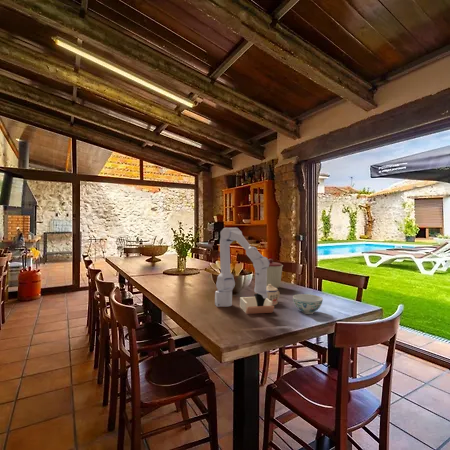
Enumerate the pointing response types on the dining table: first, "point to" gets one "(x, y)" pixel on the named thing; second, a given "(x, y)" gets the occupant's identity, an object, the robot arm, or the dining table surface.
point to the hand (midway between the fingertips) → (260, 308)
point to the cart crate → (252, 302)
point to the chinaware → (307, 303)
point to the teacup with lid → (273, 294)
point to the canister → (274, 273)
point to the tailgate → (260, 309)
